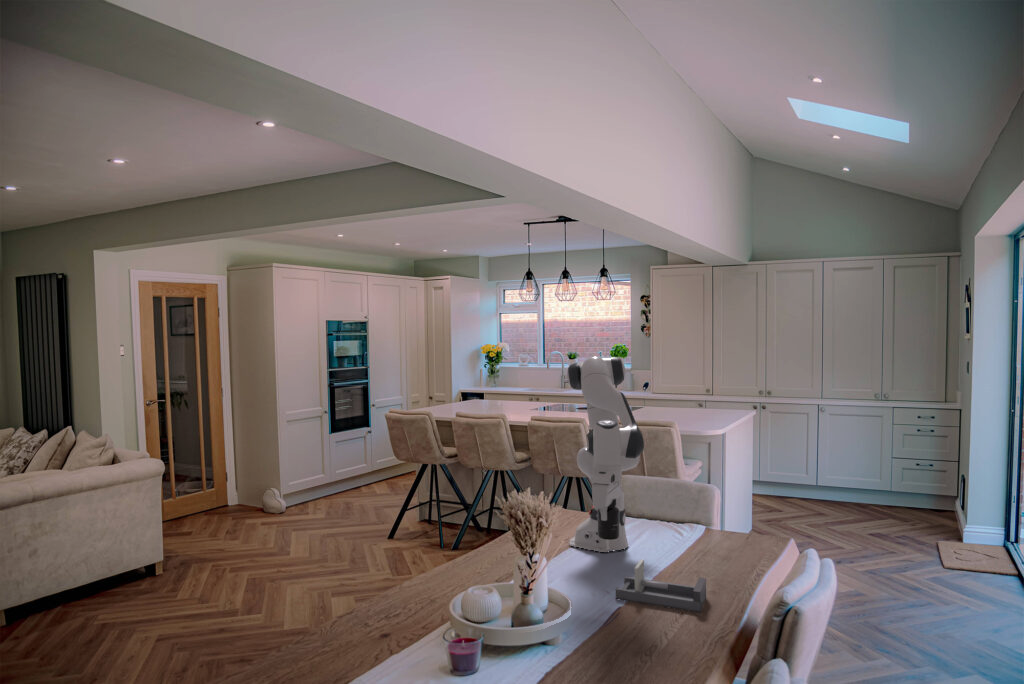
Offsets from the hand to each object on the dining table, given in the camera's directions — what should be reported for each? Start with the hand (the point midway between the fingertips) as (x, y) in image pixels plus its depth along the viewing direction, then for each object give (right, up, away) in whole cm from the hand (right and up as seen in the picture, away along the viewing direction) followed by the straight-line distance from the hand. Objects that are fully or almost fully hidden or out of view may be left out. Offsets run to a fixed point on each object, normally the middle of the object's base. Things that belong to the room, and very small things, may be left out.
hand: (608, 516), depth 201 cm
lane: (+15, -23, -7) cm, 28 cm away
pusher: (+13, -22, -6) cm, 26 cm away
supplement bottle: (0, -7, 0) cm, 7 cm away
